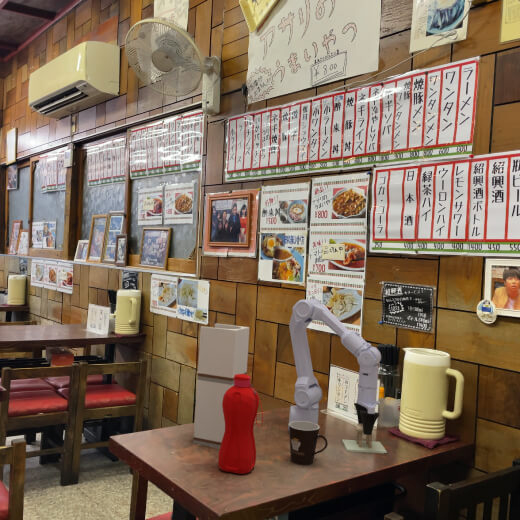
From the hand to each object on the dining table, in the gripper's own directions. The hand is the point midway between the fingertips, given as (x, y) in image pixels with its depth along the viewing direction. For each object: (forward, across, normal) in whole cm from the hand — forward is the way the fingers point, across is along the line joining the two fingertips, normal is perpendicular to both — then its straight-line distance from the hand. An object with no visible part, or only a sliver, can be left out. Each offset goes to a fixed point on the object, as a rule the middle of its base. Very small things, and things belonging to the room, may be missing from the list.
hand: (364, 430), depth 168 cm
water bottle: (+5, -23, +38) cm, 45 cm away
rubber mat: (+5, 0, 0) cm, 5 cm away
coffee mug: (+5, -16, +20) cm, 26 cm away
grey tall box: (+5, -3, +45) cm, 45 cm away
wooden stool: (+5, 0, 0) cm, 5 cm away
